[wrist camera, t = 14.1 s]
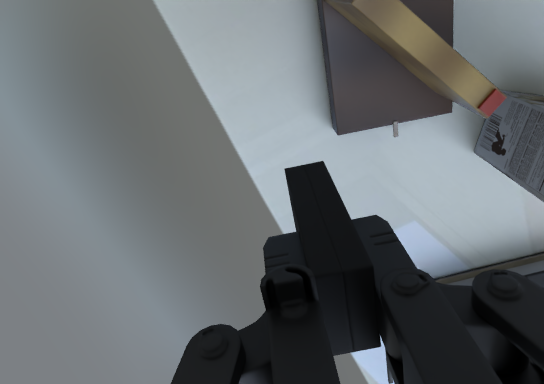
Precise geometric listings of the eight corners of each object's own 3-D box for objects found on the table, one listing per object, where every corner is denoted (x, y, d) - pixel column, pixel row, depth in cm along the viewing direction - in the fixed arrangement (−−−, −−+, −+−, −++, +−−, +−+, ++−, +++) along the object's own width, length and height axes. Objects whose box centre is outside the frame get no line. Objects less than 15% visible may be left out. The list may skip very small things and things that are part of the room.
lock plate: (309, -64, 31) (314, -68, 29) (442, -92, 31) (456, -98, 29) (334, 140, 38) (339, 148, 36) (442, 118, 38) (453, 125, 36)
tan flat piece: (324, 0, 31) (351, 3, 23) (339, -22, 30) (372, -26, 23) (435, 92, 35) (489, 120, 27) (451, 74, 34) (510, 97, 27)
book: (551, 378, 55) (567, 398, 52) (440, 404, 55) (451, 425, 53) (562, 246, 45) (582, 263, 43) (428, 279, 46) (440, 297, 43)
